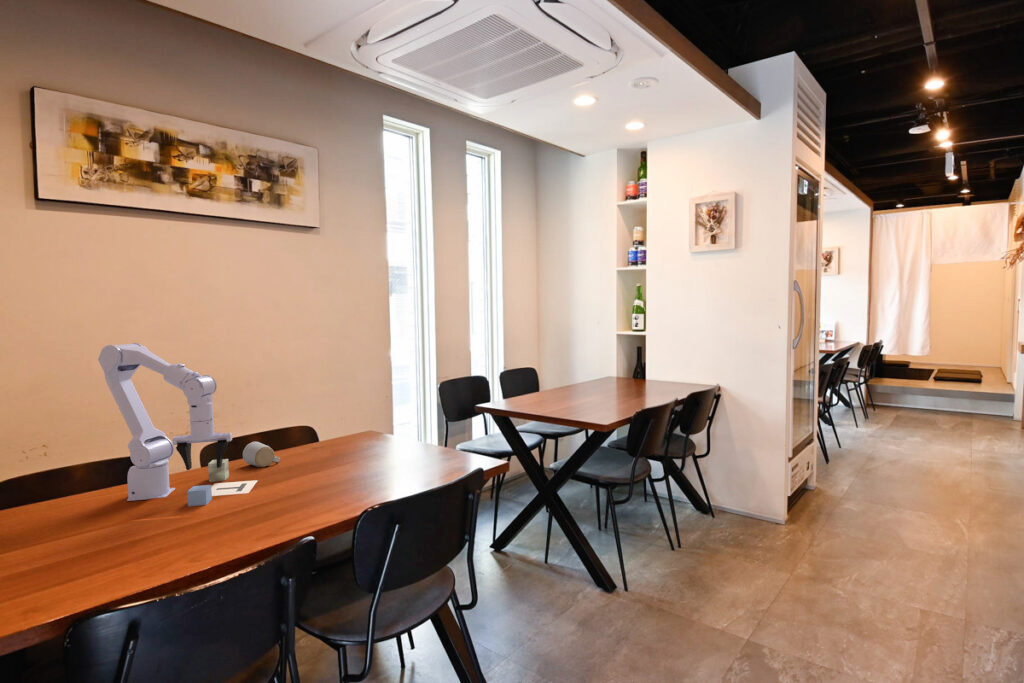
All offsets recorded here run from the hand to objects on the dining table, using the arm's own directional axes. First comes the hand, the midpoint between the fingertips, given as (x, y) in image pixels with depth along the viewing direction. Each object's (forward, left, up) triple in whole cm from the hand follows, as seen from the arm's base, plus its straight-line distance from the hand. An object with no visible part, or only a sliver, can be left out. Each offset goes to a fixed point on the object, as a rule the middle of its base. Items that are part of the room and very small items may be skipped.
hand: (204, 468), depth 155 cm
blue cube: (0, -5, -9) cm, 10 cm away
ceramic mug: (+9, +31, -9) cm, 34 cm away
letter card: (+5, +6, -9) cm, 12 cm away
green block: (-1, +16, -9) cm, 18 cm away
